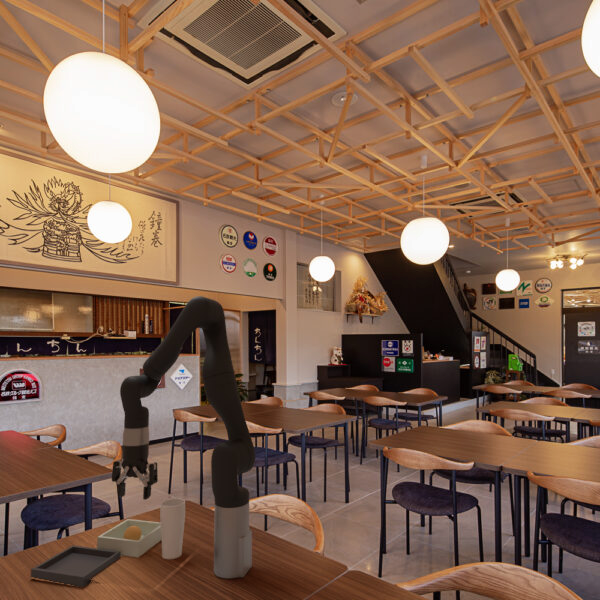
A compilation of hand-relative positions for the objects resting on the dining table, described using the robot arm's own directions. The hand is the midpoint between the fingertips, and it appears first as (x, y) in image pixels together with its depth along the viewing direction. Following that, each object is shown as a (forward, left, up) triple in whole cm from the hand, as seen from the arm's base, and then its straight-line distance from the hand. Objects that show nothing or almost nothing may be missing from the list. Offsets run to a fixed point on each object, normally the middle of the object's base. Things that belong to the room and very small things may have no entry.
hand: (133, 497), depth 131 cm
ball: (0, 0, -13) cm, 13 cm away
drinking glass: (-15, +3, -14) cm, 21 cm away
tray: (+6, +15, -14) cm, 22 cm away
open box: (0, 0, -14) cm, 14 cm away
